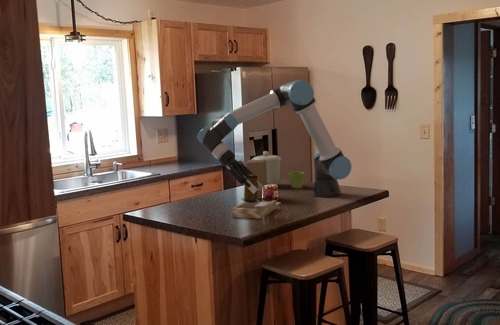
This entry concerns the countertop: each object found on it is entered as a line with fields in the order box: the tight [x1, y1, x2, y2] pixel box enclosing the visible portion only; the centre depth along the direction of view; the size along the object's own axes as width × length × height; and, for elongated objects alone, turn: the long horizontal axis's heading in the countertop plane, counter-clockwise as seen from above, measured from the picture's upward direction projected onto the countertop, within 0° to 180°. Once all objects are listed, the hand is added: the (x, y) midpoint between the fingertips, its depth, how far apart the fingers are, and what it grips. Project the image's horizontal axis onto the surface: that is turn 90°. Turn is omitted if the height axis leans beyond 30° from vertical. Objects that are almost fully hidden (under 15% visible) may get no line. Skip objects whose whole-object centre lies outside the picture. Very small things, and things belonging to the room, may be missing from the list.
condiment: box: [240, 174, 262, 204], centre depth 237 cm, size 7×8×12 cm
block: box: [245, 159, 267, 200], centre depth 276 cm, size 10×10×20 cm
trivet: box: [254, 201, 282, 208], centre depth 257 cm, size 10×10×1 cm
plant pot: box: [288, 171, 305, 189], centre depth 300 cm, size 9×9×9 cm
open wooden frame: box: [231, 199, 277, 219], centre depth 242 cm, size 14×20×4 cm
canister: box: [250, 150, 282, 185], centre depth 311 cm, size 18×18×21 cm
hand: (258, 190), depth 236 cm, fingers closed on condiment, 6 cm apart
